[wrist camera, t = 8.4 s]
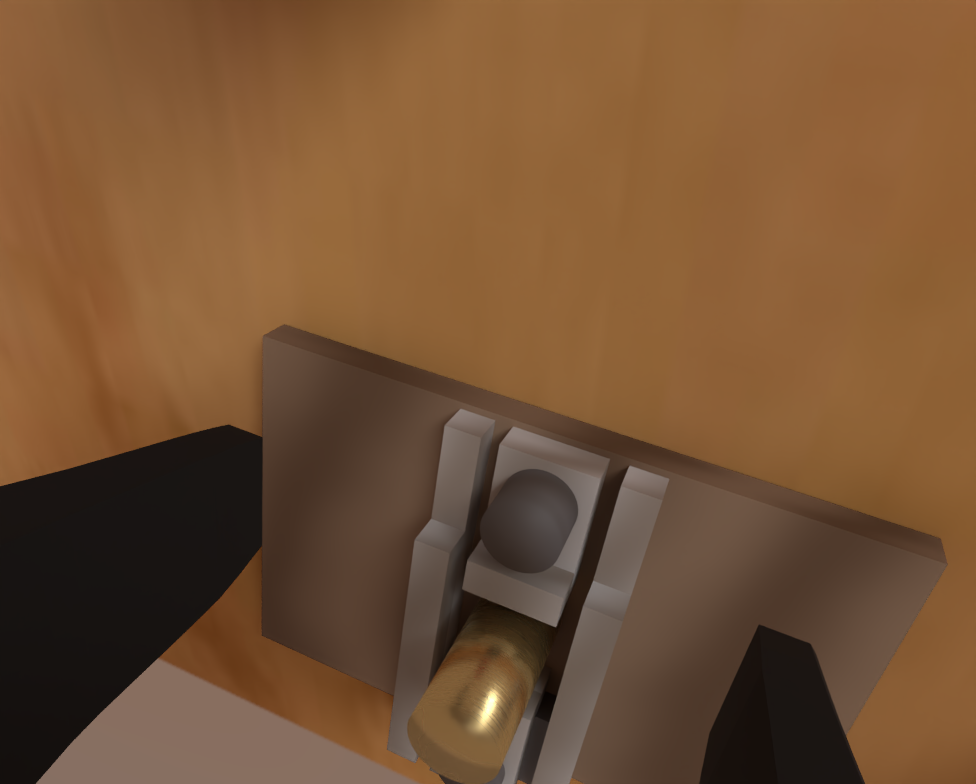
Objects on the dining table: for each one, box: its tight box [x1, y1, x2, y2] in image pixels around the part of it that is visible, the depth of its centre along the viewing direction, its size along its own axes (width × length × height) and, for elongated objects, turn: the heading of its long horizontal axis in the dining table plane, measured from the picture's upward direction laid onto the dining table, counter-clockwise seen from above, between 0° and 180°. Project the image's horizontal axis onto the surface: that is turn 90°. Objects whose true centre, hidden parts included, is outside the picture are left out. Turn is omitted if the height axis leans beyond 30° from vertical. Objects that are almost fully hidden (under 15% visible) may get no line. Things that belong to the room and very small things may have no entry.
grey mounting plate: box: [262, 325, 948, 784], centre depth 21 cm, size 18×12×4 cm, turn 81°
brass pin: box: [407, 597, 562, 784], centre depth 19 cm, size 2×2×5 cm
